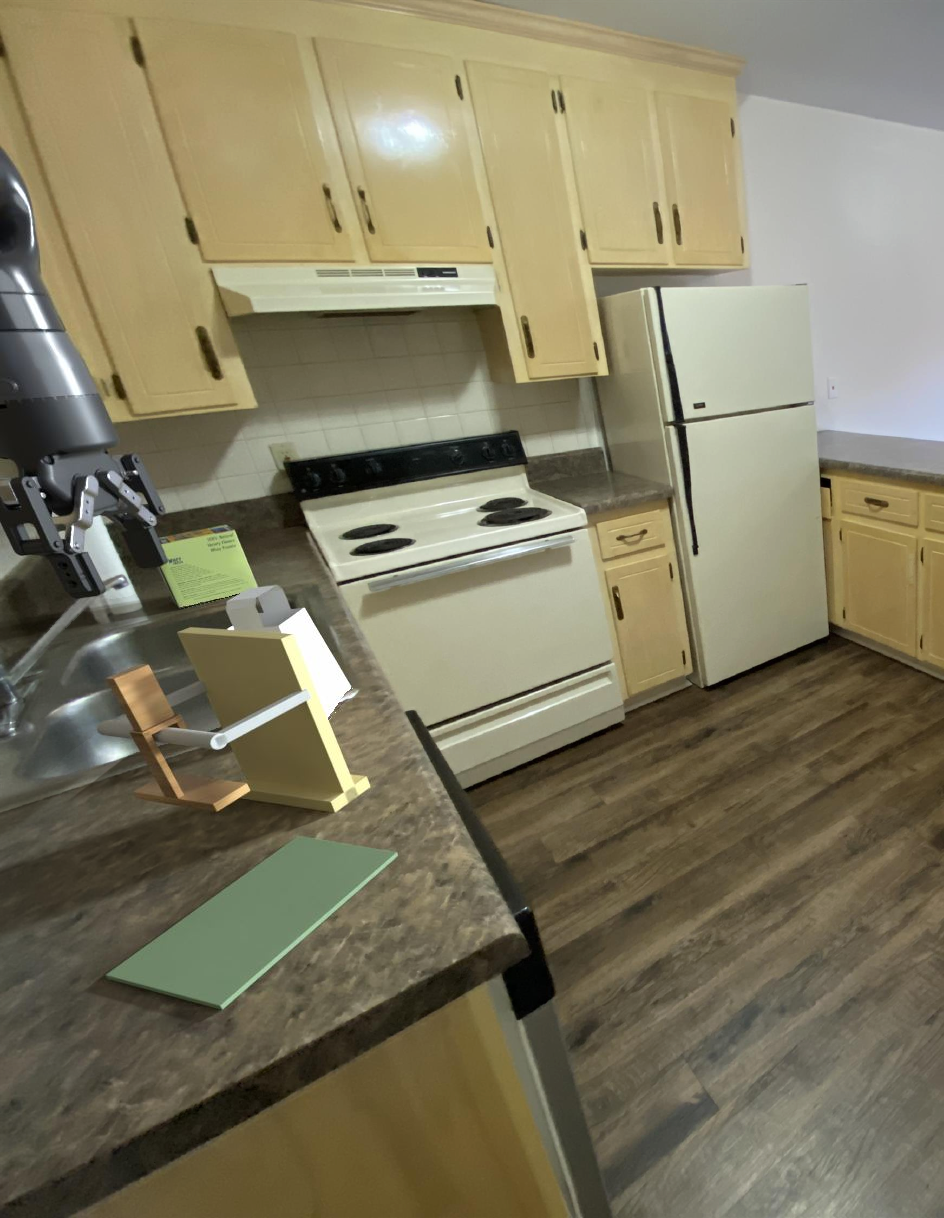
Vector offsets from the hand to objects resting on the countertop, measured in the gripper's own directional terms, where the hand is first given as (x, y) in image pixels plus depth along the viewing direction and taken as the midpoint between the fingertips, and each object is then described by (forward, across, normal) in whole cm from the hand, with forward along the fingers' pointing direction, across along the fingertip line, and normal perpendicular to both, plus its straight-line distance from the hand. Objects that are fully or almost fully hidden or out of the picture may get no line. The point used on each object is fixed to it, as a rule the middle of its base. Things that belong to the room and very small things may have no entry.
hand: (123, 580), depth 60 cm
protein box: (+33, -113, -59) cm, 132 cm away
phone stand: (+17, -3, -5) cm, 18 cm away
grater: (+32, -36, -10) cm, 49 cm away
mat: (+32, +9, +5) cm, 34 cm away
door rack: (+32, -8, -2) cm, 33 cm away
